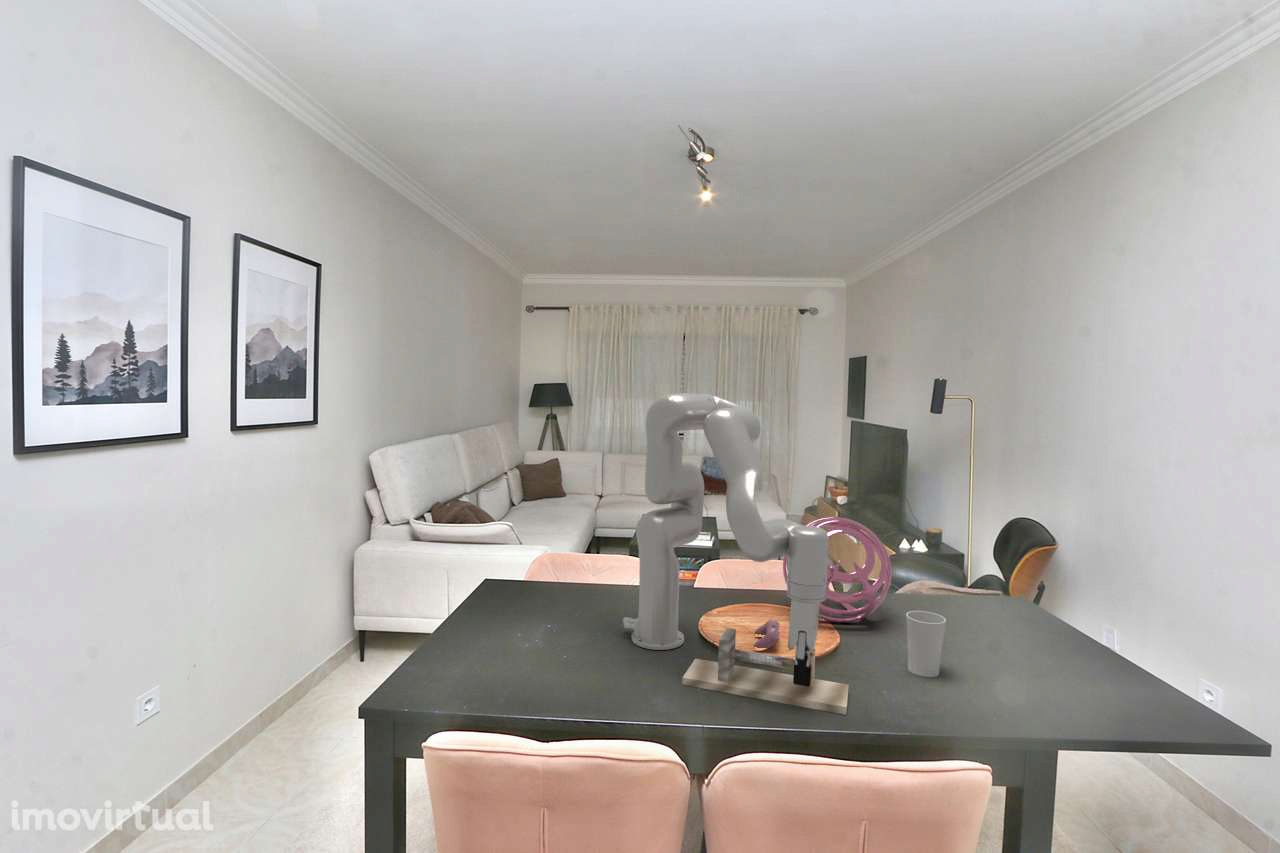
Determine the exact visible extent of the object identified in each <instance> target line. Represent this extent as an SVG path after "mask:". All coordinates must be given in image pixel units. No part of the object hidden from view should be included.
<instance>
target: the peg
mask: <svg viewBox="0 0 1280 853" xmlns="http://www.w3.org/2000/svg"><path fill="white" fill-rule="evenodd" d="M805 649H806V650H808V647H805ZM805 656H806V657H807V654H805ZM733 659H735V661H742V662H748V663H755V664H760V665H766V666H773V667H778V668H784V669H789V670H794V663H795V658H792V657H786V656H785V657H784V656H781V655H773V654H768V653H767V654H766V653H762V652H761V653H760V652H757V651H755V652H754V651H748V650H742V649H736V648H735V649H734V652H733ZM810 666H811V680H810V686H813V681H814V679H815V672H816V671H815V670H816V668H815V667H816V648H814V650H813V652H811V653H810Z"/></svg>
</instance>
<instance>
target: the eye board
mask: <svg viewBox="0 0 1280 853" xmlns="http://www.w3.org/2000/svg"><path fill="white" fill-rule="evenodd" d="M736 635H737V629H736V628H732V627H725V629H724V631H723V632H722V634H721V636H720V637H719V639H718V660H717V661H712V660H705V659H701V658H695V659H694V660H693V662H692V663H691V665H690V666H689V667H688V668H687V670H686V672H685V673H684V675H683V676H682V682H681V683H682V685H683V686H687V687H688V686H689V687H693V688H698V689H705V690H710V691H715V692H720V693H726V694H732V695H736V696H742V697H747V698H752V699H758V700H764V701H769V702H775V703H780V704H785V705H790V706H795V707H801V708H805V709H806V708H807V709H811V710H816V711H822V712H827V713H834V714H839V715H844V716H847V710H848V700H849V699H848V698H849V687H850V685H849V684H848V683H841V682H834V681H829V680H823V679H817V678H814V681H813V686H809V687H807V686H801V685H796V684H794V683H793V677H794V674H788V673H783V672H782V673H781V672H775V671H770V670H765V669H759V668H753V667H747V666H741V665H736V660H735V659H733V652H734V649H736Z"/></svg>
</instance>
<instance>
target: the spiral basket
mask: <svg viewBox="0 0 1280 853" xmlns="http://www.w3.org/2000/svg"><path fill="white" fill-rule="evenodd" d="M804 526H815V527H819V528H827V527H828V529H826V530H825V531H826V532H827V534H828V540H829V539H830V538H832V537H833V536H836V535H840V534H842V535H843V534H845V535H849V536H852V537H854V538H856V539H857V540H858V541H859V542H860V543H861V544H862V545H863V547H864V550H865V554H866V559H865V562H864V564H863V566H862V567H860V566H859V565H858V564H857V563H856V561H854V560H852V564H853V567H854V570H855V571H854V572H848V573H847V572H843V571H842V572H841V571H839V567H840V564H841V560H838V561H837V562H836V563H835V564H834V565H833V566H831V564H830V563H829V562H828V564H827V589H826V600H829V601H833V602H837V603H840V604H841V605H842V606H843V607H844V608H845V609H837V608H833V607H829V606H828V605H827V606H826V605H824V604H823V602H820V606H819V612H822V613H824V614H827V615H823V614H821V613H819V619H820V618H821V620H823V619H824V620H823V621H826V622H829V623H830V622H831V623H837V624H838V623H839V624H843V623H845V624H847V623H852V622H857V621H860V620H863V619H864V618H867V617H869V616H870V615H871V614H873V613H874V612H875V611H876V610H877V609H879V607H880V606H881V604H882V603H883V601H884V600H885V597H886V596H887V593H888V591H889V588H890V587H891V582H892V571H893V570H892V562H891V559H890V556H889V553H888V551H887V549H886V547H885V545H884V544H883V542H882V540H880V538H879V537H878V536H877V535H876V534H875V533H874V532H873V531H872V530H871V529H870V528H867V527H866V526H865V525H863V524H862V523H859V522H858V521H855V520H853V519H850V518H845V517H842V516H827V517H820V518H817V519H813V520H811V521H809V522H808V523H806V524H805V525H804ZM875 553H876V555H877V557H878V559H879V561H880V564H881V565H880V570H879V574H878V577H877V578H876V580H875V581H874V583H873V584H870V582H869V580H868V578H869V575H870V574H871V573H872V571H873V570H874V567H875V562H876V555H875ZM782 559H783V560H782V573H783V578H784V582H785V584H786V586H787V579H788V555H787V556H783V558H782ZM833 581H834V582H837V583H840V584H841V583H842V584H856V583H861V585H862V590H861V591H859V592H856V593H855V592H854V593H841V592H837V591H834V590H831V589H830V584H831V583H832V582H833ZM882 586H883V587H882ZM881 587H882V588H883V589H882V591H881V593H880V594H879V596H877V597H876V593H877V592H879V590H880V588H881ZM875 597H876V598H875ZM862 601H865V602H866V604H865V605H864V606H863V607H859V608H856V607H855V606H852V605H851V603H853V604H854V603H858V602H862ZM828 615H831V616H836V617H842V618H835V617H831V616H828ZM843 617H845V618H843ZM846 617H847V618H846Z"/></svg>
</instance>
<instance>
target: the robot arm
mask: <svg viewBox="0 0 1280 853" xmlns="http://www.w3.org/2000/svg"><path fill="white" fill-rule="evenodd" d="M645 416H646V417H645V436H646V453H645V454H646V455H645V470H644V472H645V474H644V493H645V496H646V498H647V499H648V501H649V502H650V503H652V504H655V505H670V504H671V507H664V508H659V509H654V510H650V511H647V513H645V514H643V515H642V516H641V517H640V518H639V520H638V521H637V523H636V530H635V532H636V533H635V534H636V540H637V547H638V554H639V555H638V556H639V574H638V576H639V585H638V586H639V588H638V592H639V593H638V617H636V618H632V617H626V616H625V617H623V619H622V625H623V628H624V629H627V630H632V632H631V641H632V643H633V644H635V645H636V646H638V647H641V648H643V649H647V650H654V651H665V650H666V651H667V650H668V651H669V650H673V649H677V648H678V647H680V646H682V645H683V644H684V643H685V635H684V634H683V632H681V631H680V630H679V600H680V565H679V560H678V558H677V555H676V553H675V548H677V547H681V546H683V545H687V544H690V543H694V541H696V540H697V539H698V538H699V536H700V534H701V532H702V527H703V515H704V513H703V512H704V500H705V499H704V498H705V482H704V477H703V475H702V472H701V470H700V469H699V468H698V467H697V466H696V464H693V463H691V462H687V461H683V443H682V439H681V437H680V435H679V433H678V432H680V431H696V430H702V431H703V433H704V436H705V438H706V441H707V442H708V445H709V447H710V449H711V452H712V453H713V456H714V458H715V460H716V462H717V465H718V466H719V468H720V471H721V473H722V476H723V477H724V479H725V482H726V494H725V509H726V517H727V518H726V519H727V522H728V525H729V528H730V530H731V532H732V534H733V537H734V539H735V541H736V543H737V545H738V546H739V548H740V550H741V551H742V553H743V554H744V555H745V556H746V557H747V558H748V559H749V560H751V561H753V562H755V563H756V562H758V563H763V562H764V563H765V562H769V561H771V560H773V559H777V558H781V557H784V556H787V555H788V571H787V576H788V579H787V585H786V596H787V597H788V598H789V599H791V601H790V612H789V625H788V640H787V648H788V650H789V651H791V650H795V656H794V667H793V675H794V677H793V683H794V684H796V685H801V686H807V687H809V686H810V680H811V666H810V653H811V652H813V650H814V649H815V647H816V643H817V638H818V632H819V623H820V618H819V614H820V611H819V606H820V602H821V603H823V602H826V600H827V598H826V589H827V564H828V563H829V562H828V560H829V559H828V558H829V539H828V534H827V532H826V530H825V529H824V528H823V527H820V528H819V527H815V526H805V525H803V524H801V523H798V522H795V521H792V520H790V519H787V518H775V519H771V520H766V521H763V519H762V518H761V515H760V513H759V510H758V507H757V505H756V500H755V491H756V487H757V484H758V482H759V480H760V479H761V477H762V476H763V474H764V473H765V472H764V471H765V467H764V465H763V463H762V461H761V458H760V457H759V454H758V452H757V451H756V449H755V446H754V444H753V443H755V442H756V441H757V440H758V439H759V436H760V435H761V422H760V420H759V417H758V416H757V414H756V413H754V412H753V411H752V410H751V409H749V408H747V407H744V406H742V405H739V404H737V403H734V402H732V401H730V400H726V399H724V398H721V397H719V396H716V395H713V394H709V393H692V392H691V393H688V392H686V393H685V392H683V393H681V392H678V393H677V392H676V393H669V394H665V395H663V396H660V397H658V398H657V399H656V400H654V401H653V403H652V404H650V406H649V408H648V410H647V413H646V415H645ZM805 647H808V650H806V649H805ZM805 654H807V657H806V656H805Z"/></svg>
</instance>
